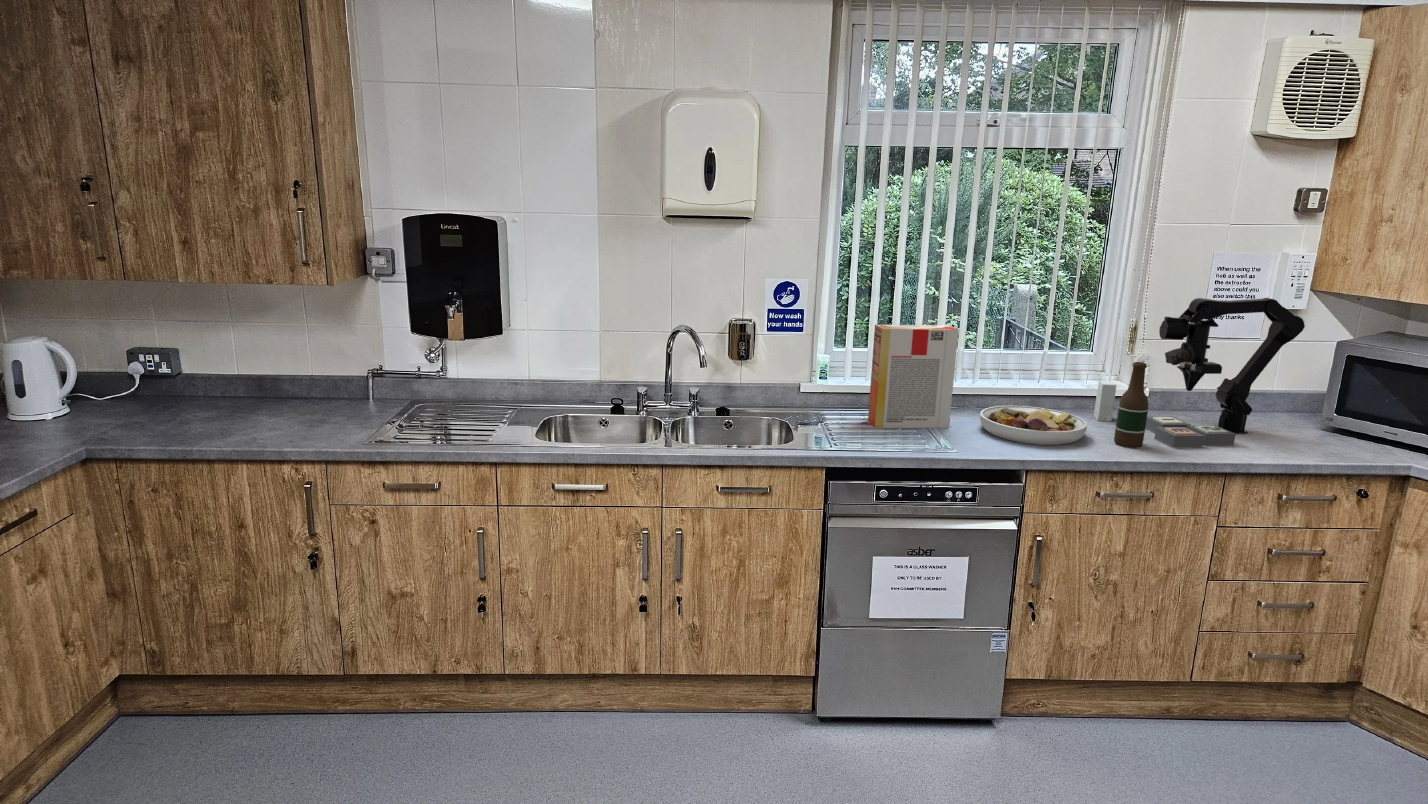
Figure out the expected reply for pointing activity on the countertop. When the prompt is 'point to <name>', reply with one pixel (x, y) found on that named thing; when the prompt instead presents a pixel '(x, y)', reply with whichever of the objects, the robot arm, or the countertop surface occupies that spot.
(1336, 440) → the countertop surface
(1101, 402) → the skincare box
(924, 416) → the pasta box
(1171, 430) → the tile
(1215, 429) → the tile
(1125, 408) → the beer bottle
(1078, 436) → the bowl
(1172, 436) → the tile collars
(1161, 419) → the tile
